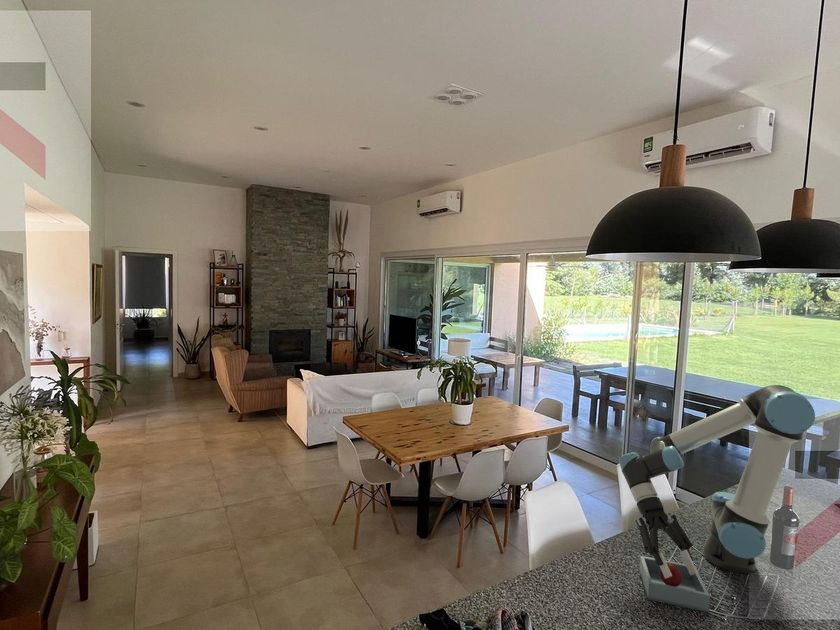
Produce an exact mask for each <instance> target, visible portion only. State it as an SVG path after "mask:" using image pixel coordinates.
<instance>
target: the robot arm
mask: <svg viewBox="0 0 840 630" xmlns="http://www.w3.org/2000/svg"><path fill="white" fill-rule="evenodd" d="M815 419H816V412H815V409H814V407H813V405H812V403H811V402H810V400H808V399H807V398H806V397H805V396H804V395H803V394H800V393H798V392H796V391H794V390H793V389H792V388H790V387H788V386H785V385H780V384H771V385H770V384H769V385H766V386H764V387H761V388H759V389H757V390H755V391H753V392H751V393H749V394H747V395H744V396H742V397H741V398H739V401H738V402H737V403H735V404H733V405H731V406H729V407H726V408H725V409H723V410H720V411H717V412H716V413H714V414H713V413H712V414H711V415H709V416H707V417H705V418H702V419H700V420H698V421H696V422H694V423H692V424H689V425H687V426H685V427H683V428H681V429H679V430H676V431H674V432H672V433H669V434H667V435H665V436H656V437H654V438H653V439H652V440H651V442H650V445H649V451H650V452H649V453H647V454H645V455H642V456H640V455H639V453H638V452H629V453H627V452H626V453H625V454H622V455H621V456H620V457H619V458H618V464H619V467H620V469H621V473H622V474H623V477H624V479H625V481H626V484H627V486H628V488H629V490H630V493H631V495H632V497H633V500H634V501H635V502H636V507H637V509H638V511H639V514H641V515H642V517H641V516H640V517H639V518H637V519H635V523H636V524H637V527H638V529H639V532H640V535H641V540H642V545H643V548H644V552H645V553H646V554H649V555H650V556H653V558H655V561H656V563H657V565H658V566H660V568H661V570H662V573H663V575H664V577H665V578H669V577H671V576H672V574H671V572H670V570H669V567H668V565H667V563H666V561H667V560H666V559H665V556H664V554H663V552H662V551H661V552H660V548H659V536H658V535H659V533H658V531H659V530H660V531H663V533H666V534H667V536H668V537H669V538H670V539H671V540H672V542H673V543H674V544H675V546H677V547H678V549H680V552H679V553H680V556H681V559H682V561H683V562H684V563H683V564H685V565H686V567H687V569H688V571H689V573H690V575H694V574H696V573H699V571H698V569H697V567H696V565H695V564H694V558H693V556H692V554H691V552H690V549H691V548H692V547H693V543H692V542H691V540H690V539H689V537H688V536H687V533H685V532H686V531H684V529H683V528H682V527H681V525H680V524H679V522H678V520H677V517H676V515H675V514H672V515H667V513H666V512H665V510H664V509H665V508H664V505H663V503H662V500H661V499H660V498H659V494H658V492H657V490H656V488H655V486H654V485H653V482H652V479H653V478H657V477H659V476H662V475H666V474H668V473H669V474H670V473H671V472H675V471H678V470H679V469H682V468H683V467H684V466H685V462H684V460H683V458H682V457H681V455H683V454H685V453H687V452H690V451H692V450H695V449H697V448H699V447H701V446H704V445H706V444H709V443H711V442H713V441H716V440H718V439H721V438H723V437H725V436H728V435H730V434H731V433H735V432H737V431H739V430H741V429H743V428H746V427H748V426H750V425H753V424H754V427H755V429H757V434H756V437H755V439H754V442H753V445H752V447H751V450H750V452H749V454H748V459H747V461H746V464H745V467H744V469H743V472H742V474H741V478H740V480H739V483H738V486H737V487H736V488H737V489H736V491H735V493H731V492H725V491H716V492H714V493H713V494H712V499H711V502H712V504H711V516H710V517H711V518H710V530H709V531H710V532H709V534H708V536H707V539H706V540H705V542H704V544H703V546H702V547H703V548H702V555H703V557H704V558H705V560H707V561H709V562H710V563H711V564H713V565H714V566H716V567H719V568H721V569H722V570H725V571H729V572H733V573H738V574H752V573H754V572H755V571H756V566H757V565H756V564H757V563H756V558H758V557H760V556H761V555H762V554H763V553H764V552H765V550H766V545H767V541H766V538H765V535H766V531H767V529H768V526H769V524H770V519H769V518H768V516H767V514H766V513H767V511H768V508H769V506H770V503H771V500H772V498H773V494H774V493H775V489H776V488H777V485H778V482H779V479H780V476H781V474H782V472H783V470H784V465H785V463H786V461H787V459H788V455H789V453H790V451H791V447H792V445H793V444H795V443H797V442H798V443H799V442H801V441H802V437H803V435H804V433H805V432H806V431H808V430H809V429H810V428H811V427H812V426H813V424H814V423H815ZM647 525H648V526H647ZM695 567H696V568H695ZM696 569H697V570H696ZM697 571H698V572H697Z"/></svg>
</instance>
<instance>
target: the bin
mask: <svg viewBox="0 0 840 630" xmlns="http://www.w3.org/2000/svg"><path fill="white" fill-rule="evenodd" d="M669 562H671V563H672V565H673V566H675V567H676V568H677V569H678V570H679V572H680V573H681V576H682V581H681V583H680V585H679V586H677V587H674V586H669V585H666V584H665V583H664V582H663V581H662V579H661V576H660V571H661V568H660V566H658V565H657V563H656V561H655V558H654V557H649V556H644V555H640V556H639V566H638V567H639V569H638V570H639V573H640V577H641V581H642V583H643V588H644V591H645V595H646V597H647V600H649V601H654V602H658V603H663V604H668V605H673V606H676V607H682V608H687V609H692V610H697V611H700V612H706V613H709V612H710V601H711V600H710V599H711V595H710V593H709V591H708V589H707V587H706V585H705V583H704V581H703V579H702V576H700V574H699V571H698V569H697V567H696V566H695V568H696V570H697V572H698V573H696V574H694V575H690V573H689V571H688V569H687V567H686V565H685V563H680V562H676V561H672V560H671V561H669V560H666V563H667V564H668V563H669Z"/></svg>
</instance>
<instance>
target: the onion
mask: <svg viewBox="0 0 840 630" xmlns="http://www.w3.org/2000/svg"><path fill="white" fill-rule="evenodd" d="M671 562H672V561H671ZM671 562H669V563H668V564H667V565H668V567H669V570H670V572H671V574H672V576H671V577H669V578H665V577H664V575H663V573H662V570H661V571H660V576H661V579H662V581H663V582H664V583H665V584H666V585H669V586H674V587H677V586H679V585H680V583H681V581H682V576H681V573H680V572H679V570H678V569H677V568H676V567H675V566H673V565H672V563H671Z"/></svg>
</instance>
